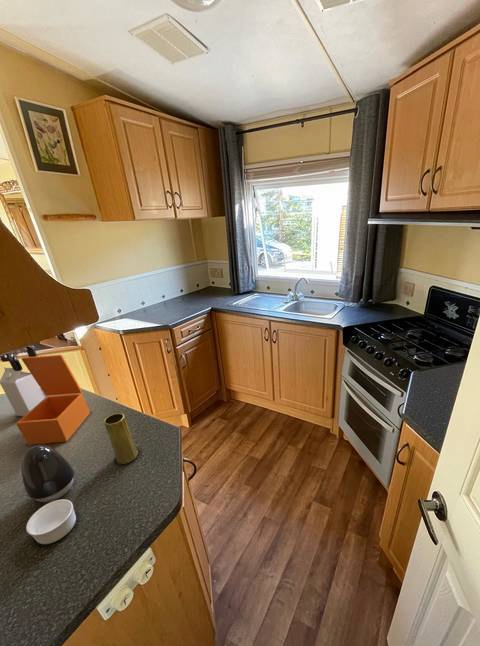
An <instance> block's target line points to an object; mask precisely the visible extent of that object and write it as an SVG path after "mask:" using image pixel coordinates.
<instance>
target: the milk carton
mask: <svg viewBox="0 0 480 646" xmlns="http://www.w3.org/2000/svg"><path fill="white" fill-rule="evenodd" d="M3 369H4V372H3V374H2V375H1V378H0V386H1V388H2V390H3V392H4V394H5V395H6V398H7V399H8V400H9V404H10V405H11V407H12V409H13V411H14V413H15V414H16V417H24V416H25V415H26V414H27V413H28V412H30V411H31V410H32V409H33V408H34V407H35V406H36V405H38V404H39V403H40V402H41V401H42V400H43V399H44V398H45V396H44V393H43V391H42V389H41V388H40V386H39V385H38V383H37V382H36V380H35V379H34V377H33V376H32V374H31V373H30V372H28V371H22V370H21V371H14V370H13V368H12V367H5V366H4V367H3Z"/></svg>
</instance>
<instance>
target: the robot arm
mask: <svg viewBox="0 0 480 646" xmlns="http://www.w3.org/2000/svg"><path fill="white" fill-rule="evenodd" d="M36 346H38V343H37V344H36V345H32V346H29V347H26V348H24V349H25V351H26V353H27V356H28V357H36V356H38V354H37V351H36ZM20 350H21V349H20ZM20 350H18V351H15V352H12V353H9V354H6V355H3V356H0V361H1V362H2V363H7V362H8V363H9V364H10V366H11V368H13V370H14V371H22V370H23V367H22V364H21V362H20V360H19V359H18V357H19V356H18V355H19V354H20Z"/></svg>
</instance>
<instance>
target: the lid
mask: <svg viewBox="0 0 480 646" xmlns="http://www.w3.org/2000/svg"><path fill="white" fill-rule="evenodd" d="M21 361H22V363H23V364H24V365H25V367H26V368H27V370H28V371H29V373H31V374H32V376H33V377H34V379H35V380H36V382H37V383H38V385H39V387H40V389H41V392H42V393H43V395H45V397H47V396H57V395H70V394H83V390H82V388H81V386H80V385H79V383H78V381H77V379H76V378H75V375H74V374H73V372H72V371H71V369H70V367H69V365H68V363H67V362H66V360H65V357H64V355H63V354H52V355H51V354H50V355H40V356H38V355H37V356H36V357H29V356H24V357H21Z"/></svg>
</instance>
